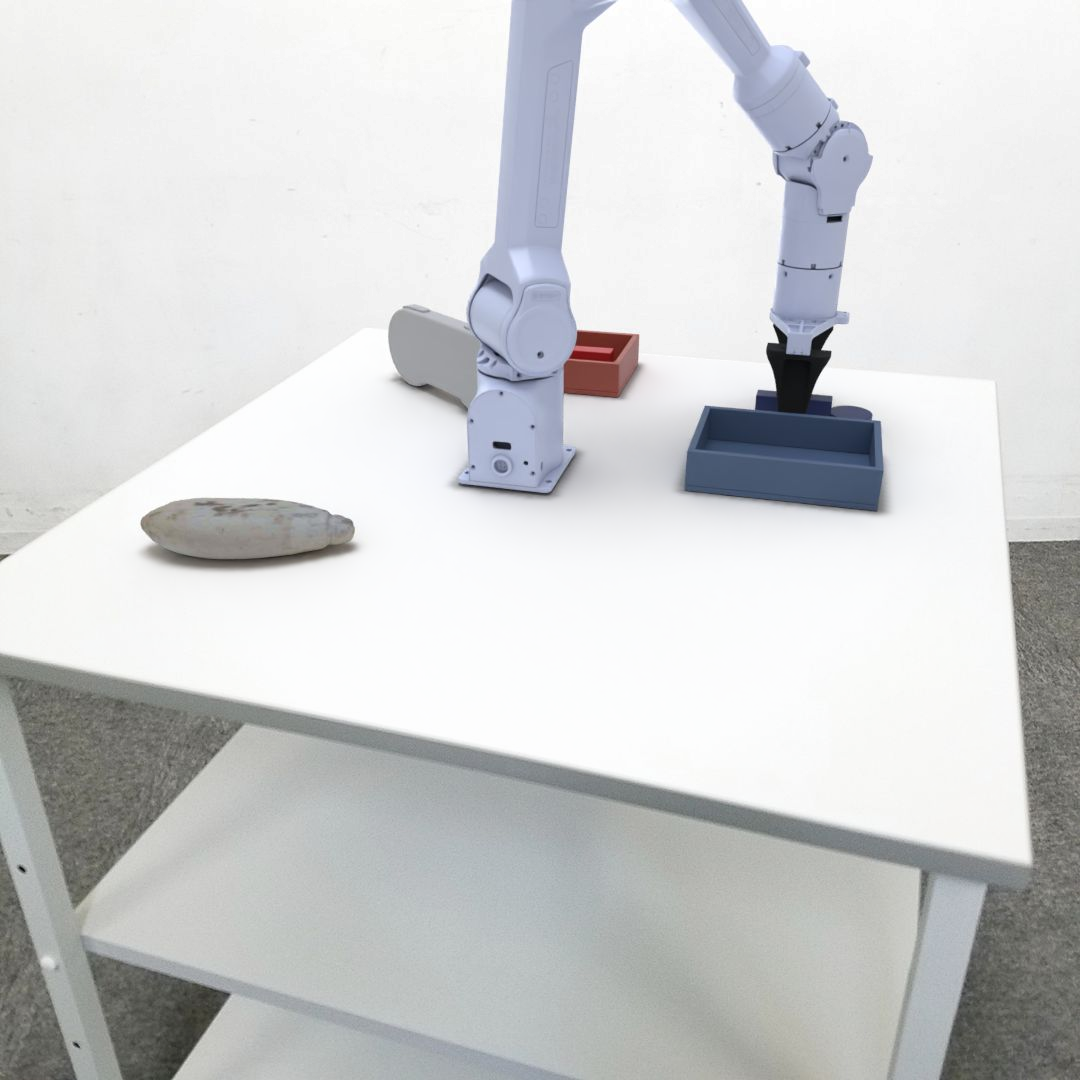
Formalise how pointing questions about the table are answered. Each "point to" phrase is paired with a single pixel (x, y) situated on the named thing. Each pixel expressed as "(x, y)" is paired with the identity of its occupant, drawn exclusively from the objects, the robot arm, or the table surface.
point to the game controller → (434, 351)
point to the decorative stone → (244, 527)
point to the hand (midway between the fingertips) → (793, 407)
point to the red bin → (602, 364)
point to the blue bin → (786, 457)
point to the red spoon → (593, 353)
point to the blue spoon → (813, 406)
